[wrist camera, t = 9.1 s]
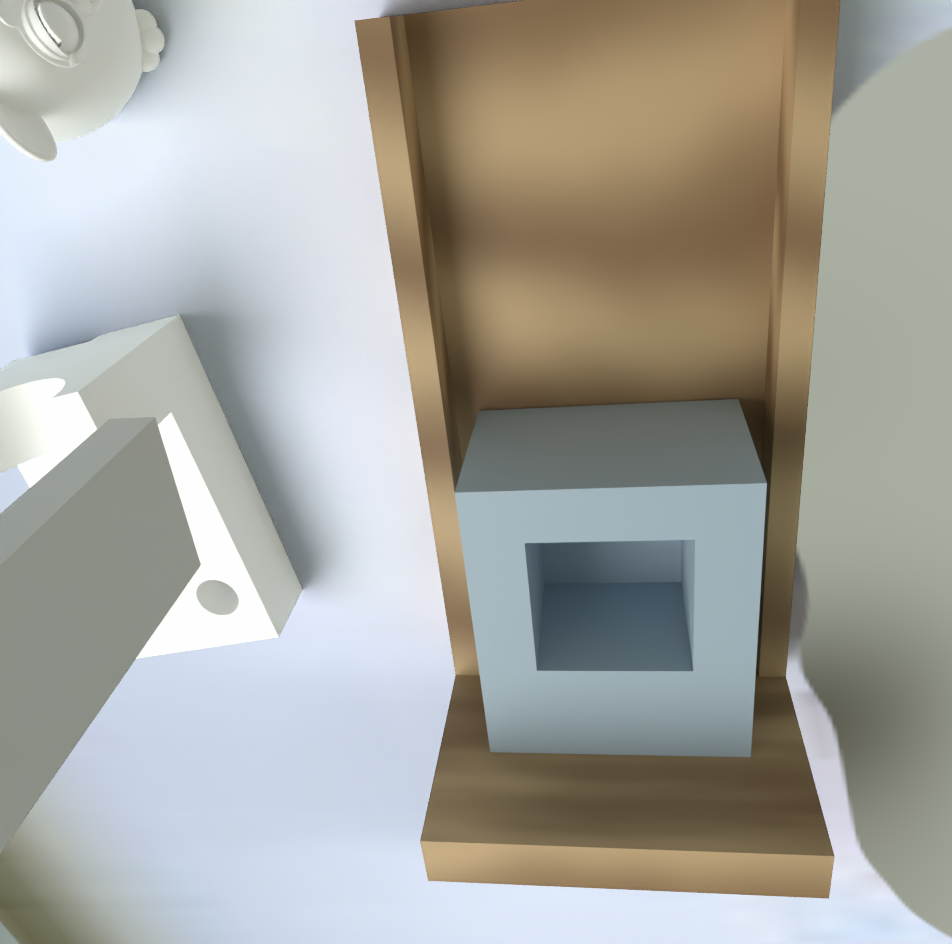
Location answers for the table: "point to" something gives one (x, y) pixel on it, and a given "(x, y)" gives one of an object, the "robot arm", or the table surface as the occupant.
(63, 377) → the bracket
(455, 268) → the tray
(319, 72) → the table surface
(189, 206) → the table surface
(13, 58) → the figurine
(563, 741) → the block
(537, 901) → the table surface
